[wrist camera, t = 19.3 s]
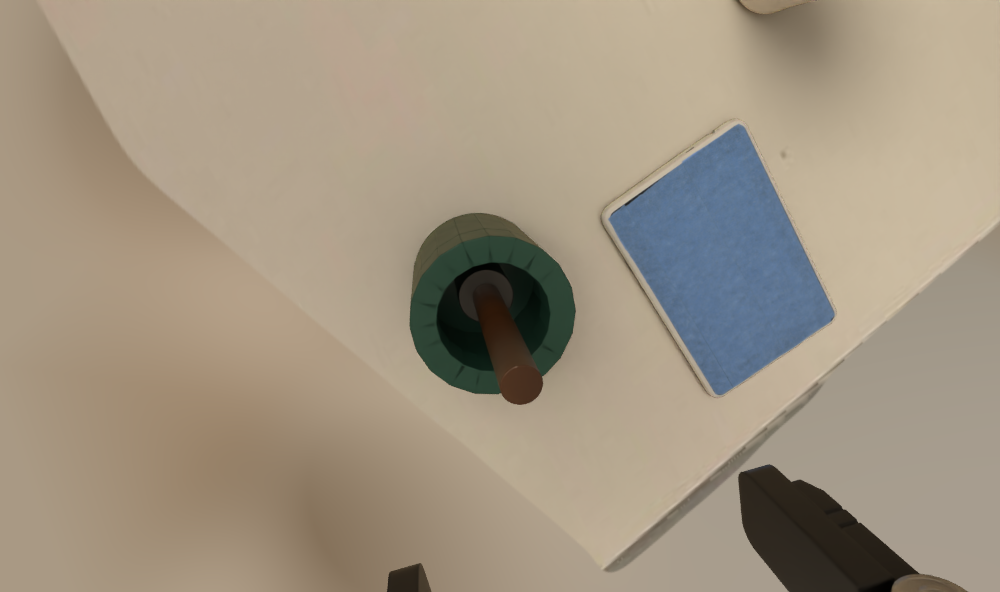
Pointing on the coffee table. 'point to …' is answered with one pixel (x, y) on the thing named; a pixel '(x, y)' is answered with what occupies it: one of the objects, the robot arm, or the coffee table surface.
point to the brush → (499, 330)
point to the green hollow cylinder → (460, 341)
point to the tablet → (721, 258)
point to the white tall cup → (771, 5)
